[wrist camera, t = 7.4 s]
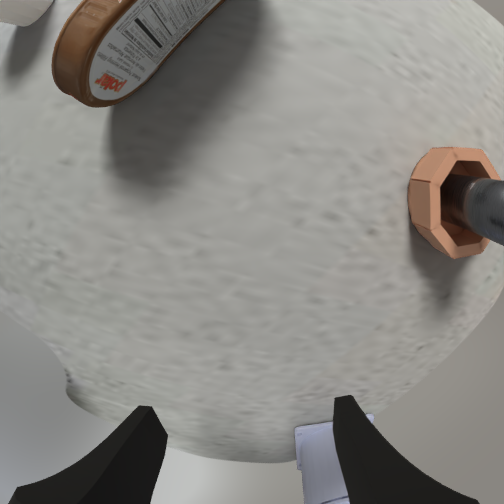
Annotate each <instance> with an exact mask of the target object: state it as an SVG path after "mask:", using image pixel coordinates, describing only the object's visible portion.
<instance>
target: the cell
mask: <svg viewBox="0 0 504 504" xmlns="http://www.w3.org/2000/svg"><path fill="white" fill-rule="evenodd" d="M440 219H441V220H443V221H445V222H448V223H451V224H453V225H456V226H458V227H461V228H463V229H466V230H468V231H471V232H473V233H476V234H478V235H480V236H483V237H485V238H487V239H490V240H492V241H494V242H496V243H499V244H501V245H503V246H504V181H502V180H495V179H489V178H482V177H475V176H467V175H458V174H448V175H447V177H446V178H445V180H444V181H443V183H442V184H441V186H440Z"/></svg>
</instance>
